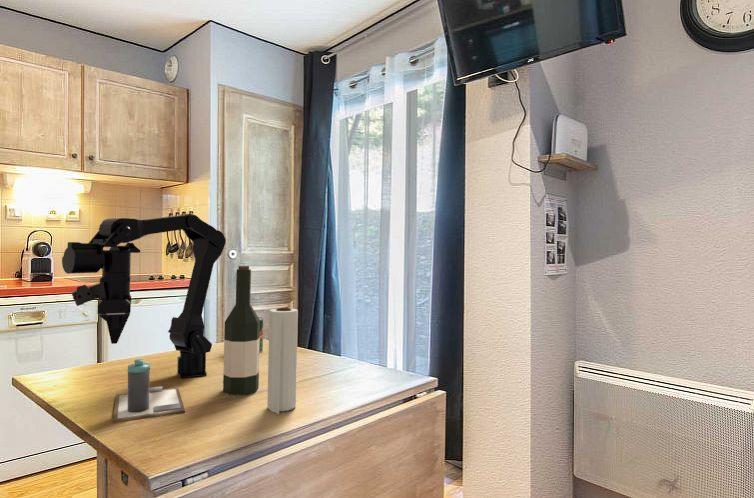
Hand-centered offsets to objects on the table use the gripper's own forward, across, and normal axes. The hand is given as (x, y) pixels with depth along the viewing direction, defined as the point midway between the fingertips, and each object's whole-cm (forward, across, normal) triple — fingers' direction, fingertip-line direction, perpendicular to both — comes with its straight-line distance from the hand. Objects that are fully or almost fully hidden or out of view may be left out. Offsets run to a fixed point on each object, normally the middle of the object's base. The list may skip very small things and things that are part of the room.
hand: (115, 339), depth 107 cm
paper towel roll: (+13, +25, +32) cm, 42 cm away
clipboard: (+12, +11, +7) cm, 18 cm away
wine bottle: (+13, +9, +27) cm, 31 cm away
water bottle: (+12, +15, +5) cm, 20 cm away
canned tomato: (+13, -31, +38) cm, 51 cm away
